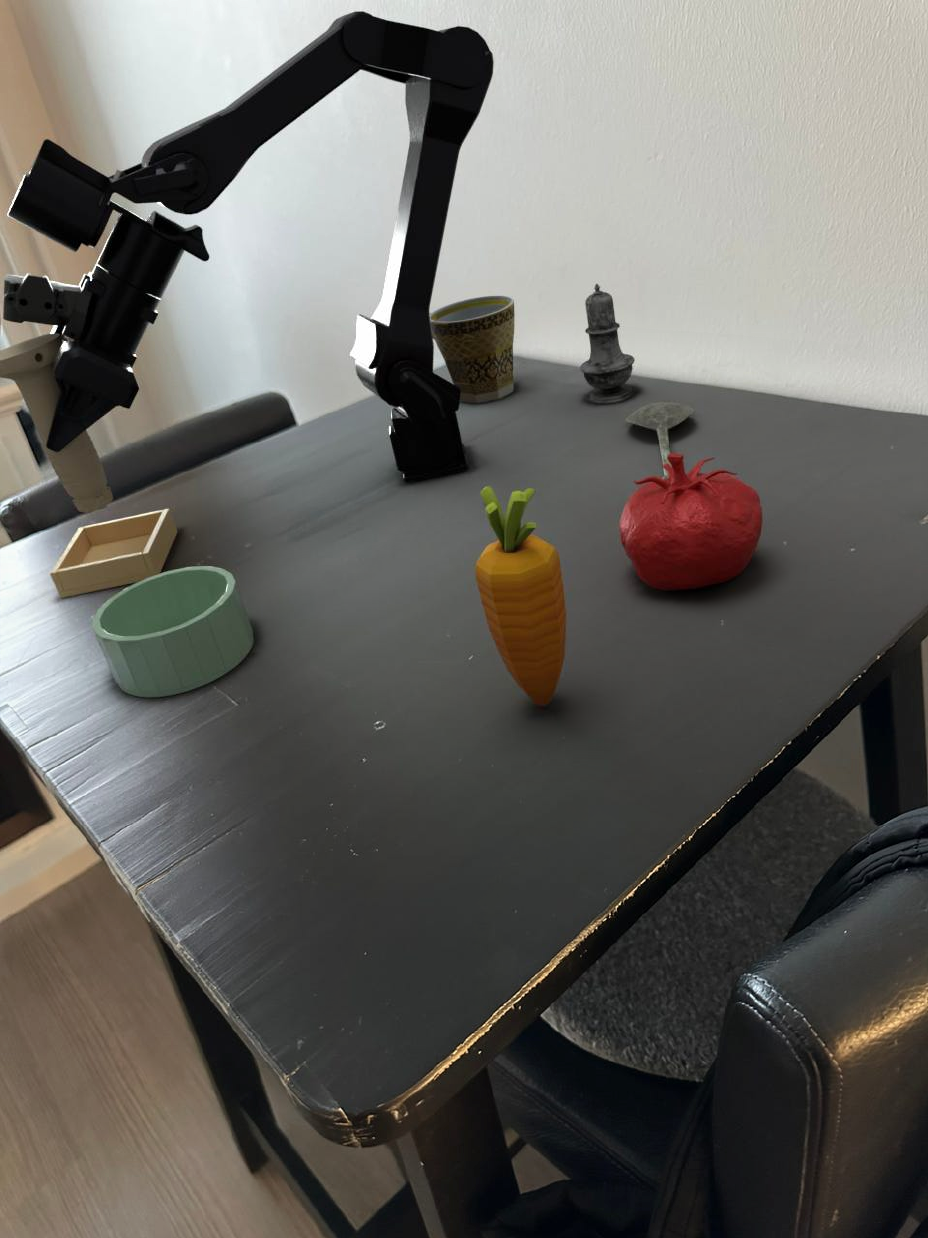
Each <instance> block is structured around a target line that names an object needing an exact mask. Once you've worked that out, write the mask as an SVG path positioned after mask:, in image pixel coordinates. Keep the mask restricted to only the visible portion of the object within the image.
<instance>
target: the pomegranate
mask: <svg viewBox="0 0 928 1238" xmlns="http://www.w3.org/2000/svg"><path fill="white" fill-rule="evenodd" d="M667 459H668V461H669V462H670V464H671V466H672V468H671V466H670V465H669V464H668V463H666V464H663V463H662V468H663V467H664V468H665V469H666V471H667V473H668V475H669V478H666V479H663V477H662V478H661V477H659V476H656V475H651V476H648V477H645V478H642V479H639V480H633V482H634V484H636V485H641V486H640V487H638V488H637V489H635V491H634V492H633V493H632V494H631V495H630V497H629V498H628V500H627V502H626V503H625V505H624V508H623V510H622V513H621V517H620V520H619V524H618V533H619V539H620V542H621V545H622V547H623V550H624V552H625V555H626V556H627V557H628V559H629V560H630V561H631V564H632V566H633V569H634V570H635V573H636V575H637V577H638V578H639V579H640V581H642V582H644V584H645V585H647V586H649V587H650V588H653V589H655V590H660V591H666V592H667V591H681V590H682V591H683V590H684V591H685V590H693V589H700V588H704V587H709V586H712V585H718V584H721V583H725V582H727V581H730V580H731V579H733V578H735V577H736V576H738V575H740V574H741V573H742V572H743V571H744V569H746V568H747V566H748V564H749V562H750V561H751V560H752V557H753V555H754V553H755V551H756V549H757V547H758V544H759V540H760V538H761V534H762V527H763V507H762V505H761V499H760V496H759V493H758V491H757V490H756V489H754V488H753V487H752V486H750V485H749V484H746V483H745V482H744V481H742V480H741V479H740V478H738V477H737V476H736V475H738V472H732V471H729V470H726V469H715V470H712V471H711V472H700V471H701V468H702V466H703V465H704V463H707V462H709V461H713V460H715V459H716V458H715V457H711V458H705V459H703V460H700V461H698V462H697V463H696V465H694V466H693V467H692V468H691V469H690V470H689V471H688V473H686V469H685V465H684V454H683V453H676V452H672V453H671V452H670V454H668V455H667Z"/></svg>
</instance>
